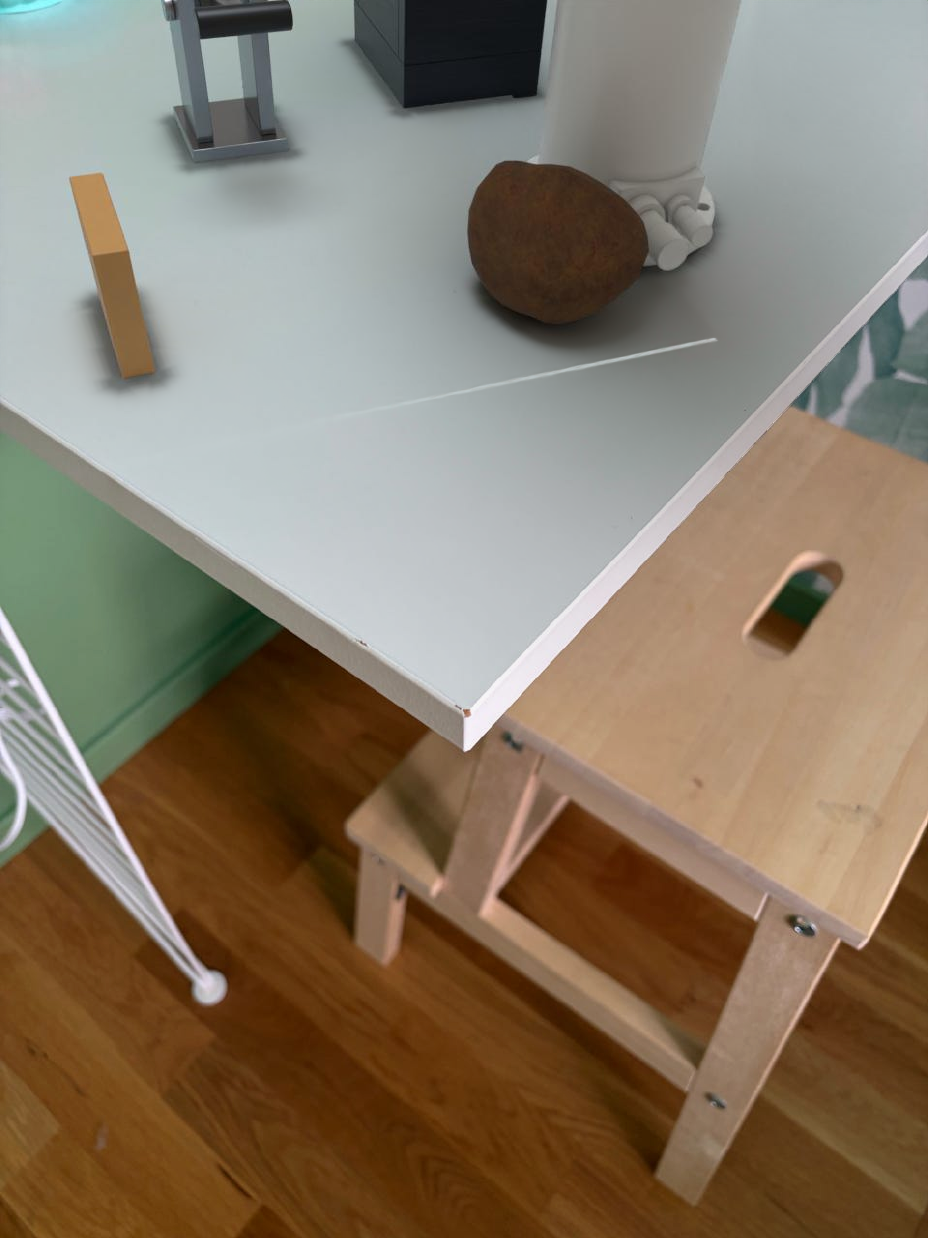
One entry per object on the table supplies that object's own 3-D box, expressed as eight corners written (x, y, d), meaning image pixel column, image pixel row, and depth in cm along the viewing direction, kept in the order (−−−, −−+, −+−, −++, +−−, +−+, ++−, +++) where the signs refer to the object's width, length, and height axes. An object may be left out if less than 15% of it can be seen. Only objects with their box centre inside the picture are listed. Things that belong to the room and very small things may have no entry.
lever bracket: (288, 153, 66) (276, -16, 58) (195, 166, 64) (169, -7, 56) (264, 110, 69) (249, -56, 61) (175, 121, 67) (148, -48, 60)
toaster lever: (295, 41, 55) (289, -11, 54) (203, 51, 54) (194, -2, 52) (255, 19, 63) (248, -28, 61) (172, 26, 61) (164, -21, 60)
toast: (156, 375, 51) (128, 249, 46) (123, 381, 51) (92, 255, 45) (130, 296, 55) (102, 171, 50) (100, 301, 55) (68, 176, 49)
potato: (485, 252, 60) (497, 117, 54) (647, 297, 58) (678, 162, 52) (437, 321, 56) (444, 182, 49) (610, 371, 54) (639, 233, 48)
